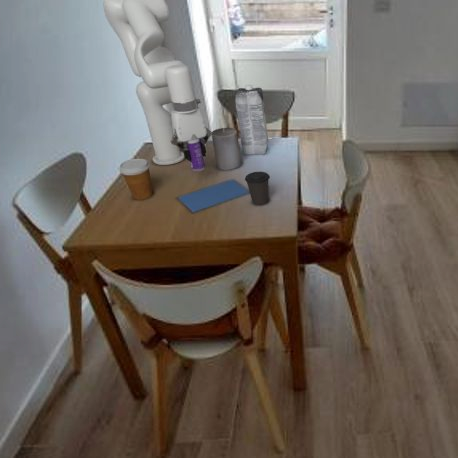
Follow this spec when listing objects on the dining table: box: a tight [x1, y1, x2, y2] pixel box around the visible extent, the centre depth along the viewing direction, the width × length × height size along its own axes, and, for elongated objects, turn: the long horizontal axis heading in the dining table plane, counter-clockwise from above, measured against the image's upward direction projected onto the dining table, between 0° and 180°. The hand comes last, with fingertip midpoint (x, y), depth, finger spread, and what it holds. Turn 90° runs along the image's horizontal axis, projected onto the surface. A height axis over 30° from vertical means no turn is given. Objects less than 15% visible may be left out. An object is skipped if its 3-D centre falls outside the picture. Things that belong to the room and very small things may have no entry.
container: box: [187, 134, 206, 172], centre depth 148 cm, size 5×5×15 cm
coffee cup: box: [244, 171, 271, 206], centre depth 142 cm, size 8×8×10 cm
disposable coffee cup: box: [118, 158, 153, 201], centre depth 147 cm, size 10×10×12 cm
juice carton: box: [234, 84, 269, 156], centre depth 174 cm, size 9×10×27 cm
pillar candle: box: [211, 127, 243, 171], centre depth 166 cm, size 10×10×15 cm
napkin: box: [177, 179, 250, 213], centre depth 149 cm, size 13×21×1 cm, turn 129°
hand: (195, 157), depth 150 cm, fingers closed on container, 4 cm apart
